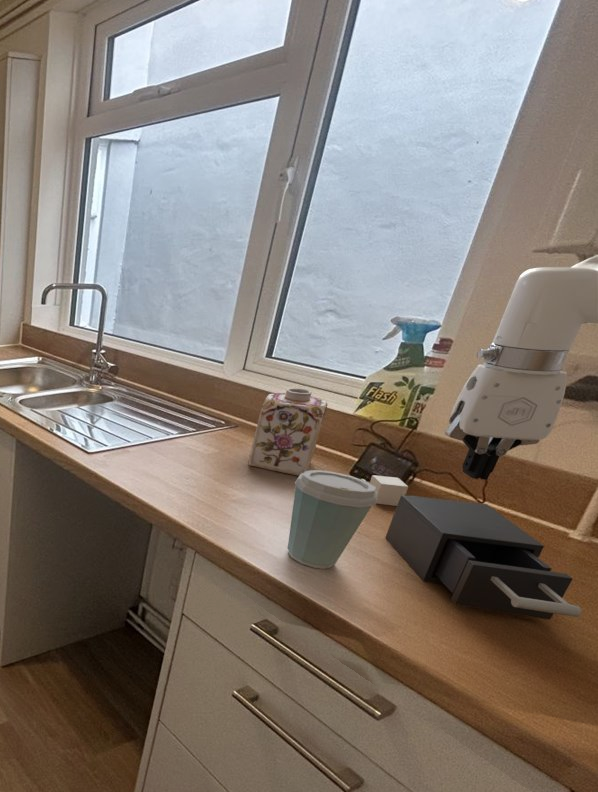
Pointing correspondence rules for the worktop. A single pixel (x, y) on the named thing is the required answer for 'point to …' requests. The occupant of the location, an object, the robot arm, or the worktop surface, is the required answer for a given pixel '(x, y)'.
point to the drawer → (503, 580)
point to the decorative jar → (287, 431)
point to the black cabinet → (448, 530)
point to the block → (388, 489)
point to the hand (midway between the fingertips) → (474, 475)
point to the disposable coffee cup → (326, 515)
